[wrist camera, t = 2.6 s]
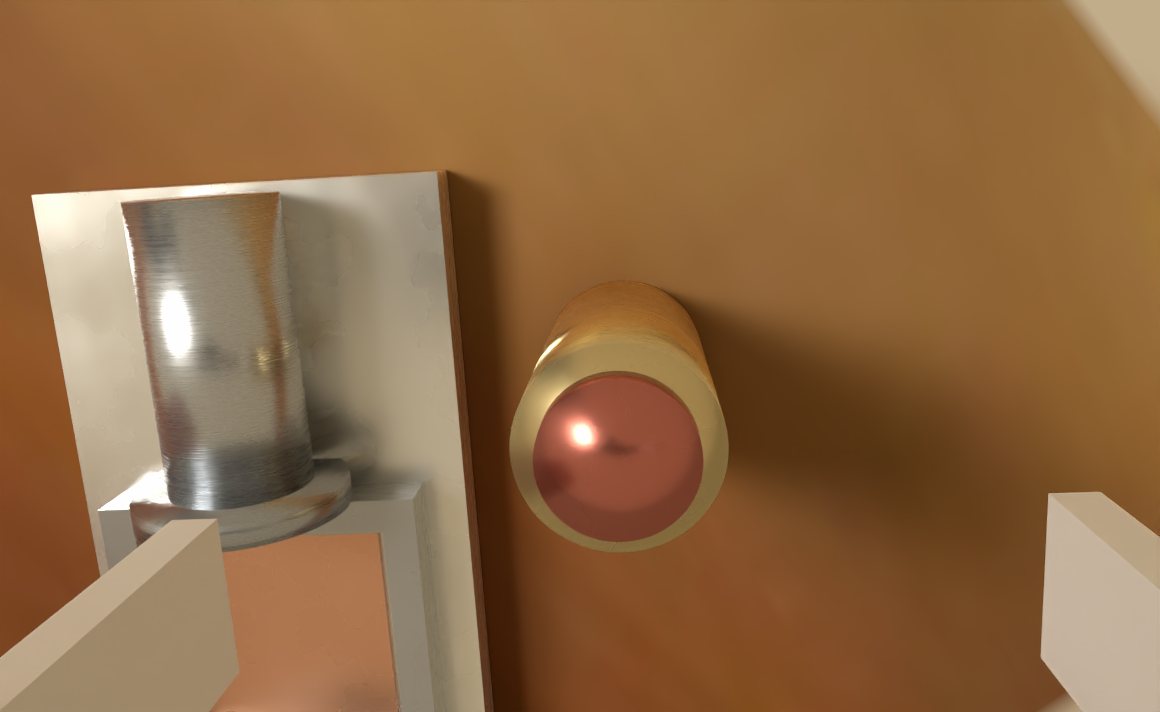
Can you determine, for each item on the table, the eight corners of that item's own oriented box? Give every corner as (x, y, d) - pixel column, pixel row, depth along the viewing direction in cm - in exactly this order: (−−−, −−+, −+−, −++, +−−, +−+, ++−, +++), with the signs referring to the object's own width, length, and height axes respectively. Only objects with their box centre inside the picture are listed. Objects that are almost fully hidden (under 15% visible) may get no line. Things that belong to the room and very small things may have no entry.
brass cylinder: (541, 284, 30) (496, 356, 20) (699, 276, 29) (729, 346, 20) (551, 435, 31) (513, 571, 21) (704, 429, 30) (735, 564, 21)
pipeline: (61, 191, 30) (-95, 208, 23) (446, 169, 29) (393, 180, 23) (193, 955, 36) (99, 1130, 30) (514, 954, 35) (488, 1134, 29)
